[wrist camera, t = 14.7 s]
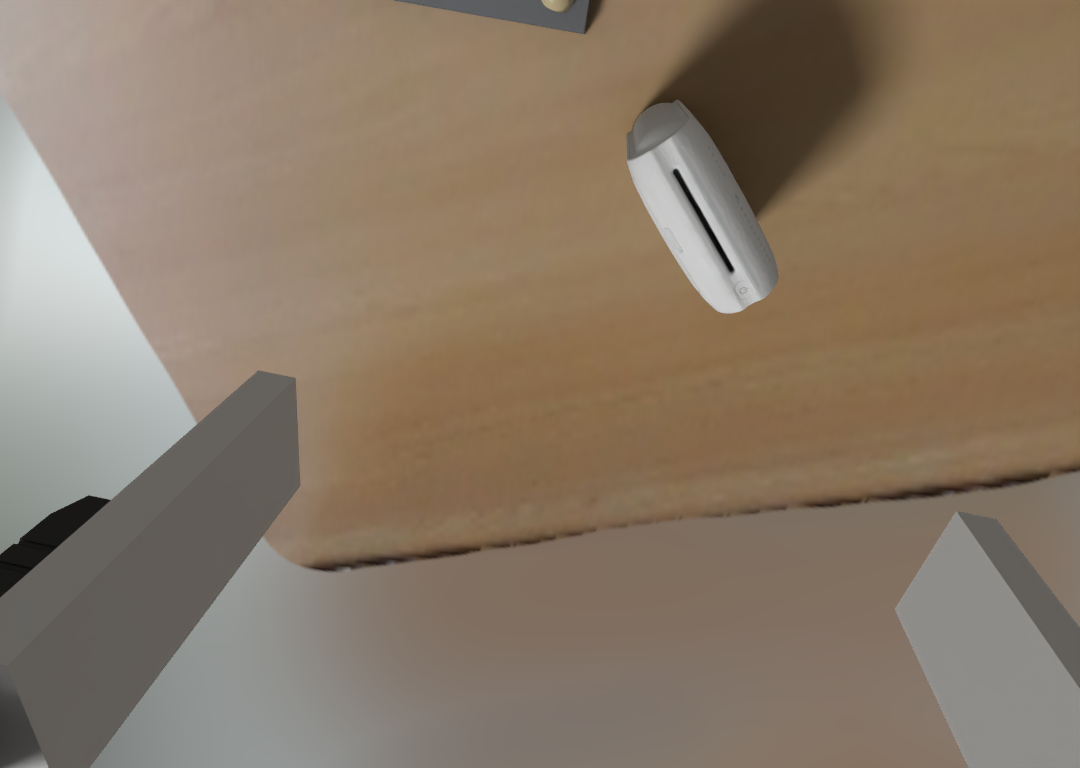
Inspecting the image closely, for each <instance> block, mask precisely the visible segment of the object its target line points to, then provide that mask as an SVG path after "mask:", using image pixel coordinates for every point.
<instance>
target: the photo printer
mask: <svg viewBox="0 0 1080 768" xmlns="http://www.w3.org/2000/svg"><path fill="white" fill-rule="evenodd" d="M626 139H627V163H628V167H629V170H630V173H631V176H632V180H633V182H634V185H635V187H636V189H637V191H638V193H639V195H640V197H641V199H642V201H643V203H644V205H645V207H646V209H647V210H648V212H649V214H650V216H651V218H652V219H653V221H654V223H655V225H656V227H657V228H658V230H659V232H660V233H661V235H662V237H663V239H664V240H665V242H666V244H667V246H668V247H669V249H670V250H671V252H672V254H673V255H674V257H675V259H676V260H677V262H678V263H679V265H680V267H681V268H682V270H683V271H684V273H685V274H686V276H687V277H688V279H689V280H690V282H691V283H692V284H693V286H694V287H695V288H696V290H697V291H698V292H699V293H700V294H701V296H702V297H703V298H704V299H705V300H706V301H707V302H708V303H709V304H710V305H711V306H712V307H713V308H714V309H715V310H717V311H718V312H722V313H735V312H739V311H742V310H743V309H745V308H746V307H747V306H749V305H750V304H752V303H754V302H757V301H759V300H762V299H763V298H765V297H766V296H767V295H768V294H769V293H770V292H771V291H772V290H773V288H774V287H775V285H776V284H777V281H778V270H777V266H776V262H775V258H774V255H773V253H772V251H771V248H770V246H769V244H768V242H767V240H766V238H765V235H764V233H763V231H762V229H761V227H760V225H759V223H758V221H757V219H756V217H755V215H754V213H753V211H752V209H751V208H750V206H749V204H748V202H747V200H746V198H745V196H744V195H743V193H742V191H741V189H740V187H739V185H738V184H737V182H736V180H735V178H734V176H733V175H732V173H731V171H730V169H729V167H728V166H727V164H726V162H725V161H724V159H723V157H722V155H721V154H720V152H719V150H718V149H717V147H716V145H715V144H714V142H713V140H712V139H711V137H710V136H709V134H708V133H707V132H706V131H705V129H704V128H703V127H702V125H701V124H700V123H699V122H698V120H697V119H696V118H695V117H694V116H693V114H692V113H691V112H690V111H689V110H688V109H687V108H686V107H685V105H684V104H683V103H682V102H681V101H679V100H675V101H674V102H673V103H659V104H656V105H653V106H651V107H649V108H648V109H646V110H645V111H644V112H643V113H641V115H640V116H639V117H638V118H637V120H636V122H635V124H634V126H633V129H632V131H631V132H629V133H628V134H627V136H626Z"/></svg>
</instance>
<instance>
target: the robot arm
mask: <svg viewBox="0 0 1080 768" xmlns="http://www.w3.org/2000/svg"><path fill="white" fill-rule="evenodd" d="M299 487H300V469H299V446H298V423H297V400H296V378H293V377H288V376H283V375H278V374H273V373H268V372H263V371H257V372H256V373H255V374H254V375H253V376H252V377H251V378H249V379H248V380H247V381H246V382H245V383H244V384H243V385H241V386H240V387H239V388H238V389H237V390H236V391H235V392H234V393H232V394H231V395H230V396H229V397H228V398H227V399H226V400H224V401H223V402H222V403H221V404H220V405H219V406H218V407H216V408H215V409H214V410H213V411H212V412H211V413H210V414H208V415H207V416H206V417H205V418H204V419H203V420H202V421H201V422H199V423H198V424H197V425H196V426H195V427H194V428H193V429H192V430H190V431H189V432H188V433H187V434H186V435H185V436H183V437H182V438H181V439H180V440H179V441H178V442H177V443H176V444H174V445H173V446H172V447H171V448H170V449H169V450H168V451H166V453H164V454H163V455H162V456H161V457H160V458H158V459H157V460H156V461H155V462H154V463H153V464H152V465H150V466H149V467H148V468H147V469H146V470H145V471H144V472H143V473H141V474H140V475H139V476H138V477H137V478H136V479H135V480H133V482H131V483H130V484H129V485H128V486H127V487H125V488H124V489H123V490H122V491H121V492H120V493H119V494H118V495H117V496H115V497H114V498H113V499H112V500H108V499H103V498H98V497H93V496H87V497H85V498H83V499H81V500H78V501H76V502H75V503H72V504H70V505H68V506H66V507H64V508H62V509H60V510H58V511H56V512H54V513H51V514H50V515H49V516H48V517H46V518H45V519H44V520H43V521H41V522H40V523H39V524H37V525H36V526H35V527H34V528H33V529H31V530H30V531H29V532H28V533H27V534H25V535H24V536H23V537H22V538H20V541H19V543H18V544H13V545H12V546H11V547H9V548H8V549H7V550H5V551H4V552H3V553H2V554H1V555H0V768H90V766H91V765H92V764H93V762H94V761H95V760H96V758H97V757H98V756H99V754H100V753H101V751H102V750H103V749H104V747H105V746H106V745H107V744H108V742H109V741H110V740H111V738H112V737H113V736H114V734H115V733H116V732H117V730H118V729H119V728H120V726H121V725H122V724H123V722H124V721H125V719H126V718H127V717H128V716H129V714H130V713H131V712H132V710H133V709H134V707H135V706H136V705H137V703H138V702H139V701H140V700H141V698H142V697H143V696H144V694H145V693H146V691H147V690H148V689H149V687H150V686H151V685H152V683H153V682H154V681H155V679H156V678H157V677H158V675H159V674H160V673H161V671H162V670H163V669H164V667H165V666H166V665H167V663H168V662H169V661H170V659H171V658H172V657H173V655H174V654H175V653H176V651H177V650H178V649H179V647H180V646H181V645H182V643H183V642H184V641H185V639H186V638H187V637H188V635H189V634H190V633H191V631H192V630H193V629H194V627H195V626H196V625H197V623H198V622H199V621H200V619H201V618H202V617H203V615H204V614H205V612H206V611H207V609H209V607H210V606H211V604H212V603H213V602H214V600H215V599H216V598H217V596H218V595H219V594H220V592H221V591H222V590H223V588H224V587H225V586H226V584H227V583H228V582H229V580H230V579H231V578H232V576H233V575H234V574H235V572H236V571H237V570H238V568H239V567H240V566H241V564H242V563H243V562H244V560H245V559H246V558H247V556H248V555H249V554H250V552H251V551H252V549H253V548H254V547H255V546H256V544H257V543H258V542H259V540H260V539H261V537H262V536H263V535H264V534H265V532H266V531H267V530H268V528H269V527H270V526H271V524H272V523H273V522H274V520H275V519H276V517H277V516H278V515H279V513H280V512H281V511H282V509H283V508H284V507H285V505H286V504H287V503H288V501H289V500H290V499H291V497H292V496H293V495H294V493H295V492H296V491H297V489H298V488H299ZM895 611H896V613H897V615H898V618H899V620H900V622H901V624H902V626H903V628H904V630H905V633H906V635H907V637H908V639H909V641H910V643H911V645H912V648H913V649H914V652H915V654H916V656H917V658H918V660H919V663H920V665H921V667H922V669H923V671H924V673H925V676H926V678H927V680H928V682H929V684H930V686H931V688H932V691H933V693H934V695H935V697H936V699H937V701H938V703H939V706H940V708H941V710H942V712H943V714H944V716H945V718H946V720H947V723H948V725H949V727H950V729H951V731H952V733H953V736H954V738H955V740H956V742H957V744H958V747H959V749H960V751H961V753H962V755H963V757H964V759H965V762H966V763H967V766H968V768H1080V627H1079V626H1078V625H1077V623H1076V622H1075V621H1074V620H1073V618H1072V617H1071V616H1070V614H1069V613H1068V612H1067V611H1066V609H1065V608H1064V607H1063V605H1062V604H1061V603H1060V601H1059V600H1058V599H1057V597H1056V596H1055V595H1054V594H1053V592H1052V591H1051V590H1050V588H1049V587H1048V586H1047V584H1046V583H1045V582H1044V581H1043V579H1042V578H1041V577H1040V575H1039V574H1038V573H1037V571H1036V570H1035V569H1034V567H1033V566H1032V565H1031V564H1030V562H1029V561H1028V560H1027V558H1026V557H1025V556H1024V554H1023V553H1022V552H1021V551H1020V549H1019V548H1018V547H1017V545H1016V544H1015V543H1014V541H1013V540H1012V539H1011V537H1010V536H1009V535H1008V534H1007V532H1006V531H1005V530H1004V528H1003V527H1002V526H1001V524H1000V523H999V522H998V521H997V519H993V518H988V517H983V516H978V515H972V514H968V513H963V512H958V511H956V513H955V514H954V516H953V517H952V519H951V520H950V522H949V524H948V525H947V527H946V528H945V530H944V532H943V533H942V535H941V536H940V538H939V540H938V541H937V543H936V544H935V546H934V548H933V549H932V551H931V552H930V554H929V555H928V557H927V559H926V560H925V562H924V563H923V565H922V567H921V568H920V570H919V571H918V573H917V575H916V576H915V578H914V579H913V581H912V583H911V584H910V586H909V587H908V589H907V591H906V592H905V594H904V595H903V597H902V598H901V600H900V602H899V603H898V605H897V606H896V608H895Z"/></svg>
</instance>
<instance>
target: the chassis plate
mask: <svg viewBox="0 0 1080 768" xmlns="http://www.w3.org/2000/svg"><path fill="white" fill-rule="evenodd" d="M396 1H401V2H407V3H412V4H418V5H424V6H429V7H435V8H441V9H446V10H452V11H457V12H463V13H469V14H474V15H480V16H485V17H491V18H497V19H502V20H508V21H514V22H519V23H525V24H530V25H536V26H542V27H547V28H553V29H559V30H564V31H570V32H575V33H581V34H585V32H586V26H587V20H588V14H589V8H590V2H591V0H396Z"/></svg>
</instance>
